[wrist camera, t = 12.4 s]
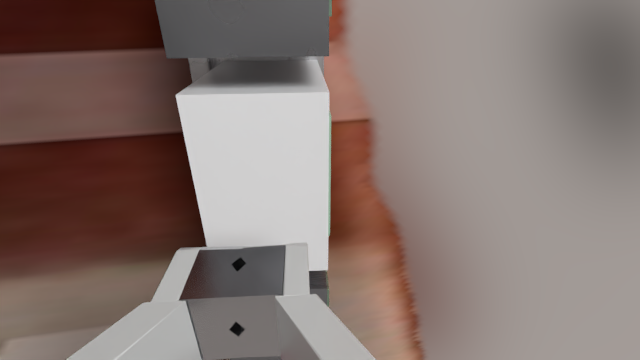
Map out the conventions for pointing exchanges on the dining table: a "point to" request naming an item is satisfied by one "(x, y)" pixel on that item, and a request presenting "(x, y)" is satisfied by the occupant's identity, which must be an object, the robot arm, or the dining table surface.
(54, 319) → the dining table surface
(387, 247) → the dining table surface
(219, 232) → the block
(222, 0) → the rail
